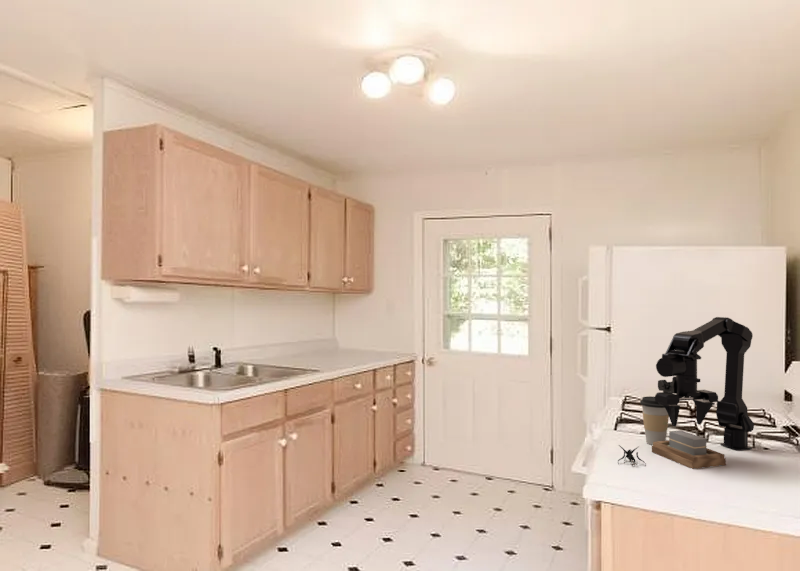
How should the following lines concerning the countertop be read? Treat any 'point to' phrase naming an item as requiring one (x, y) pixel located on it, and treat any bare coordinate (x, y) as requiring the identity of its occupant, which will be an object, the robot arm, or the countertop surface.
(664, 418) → the coffee cup
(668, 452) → the wooden picture frame
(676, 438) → the glasses case
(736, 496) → the countertop surface
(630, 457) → the creature
